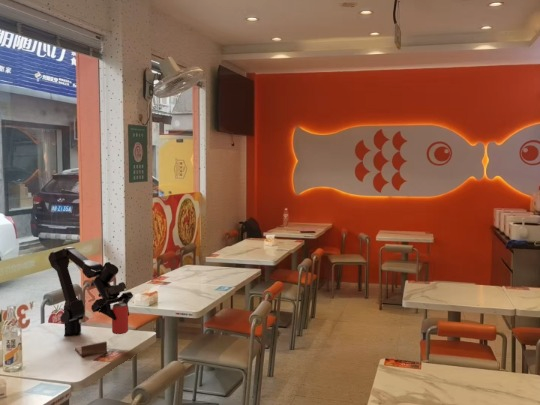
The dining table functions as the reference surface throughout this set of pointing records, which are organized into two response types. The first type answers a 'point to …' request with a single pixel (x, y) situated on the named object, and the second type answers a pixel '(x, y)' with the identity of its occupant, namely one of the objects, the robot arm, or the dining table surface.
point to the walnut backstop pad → (92, 349)
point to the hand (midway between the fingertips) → (122, 317)
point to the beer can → (120, 318)
